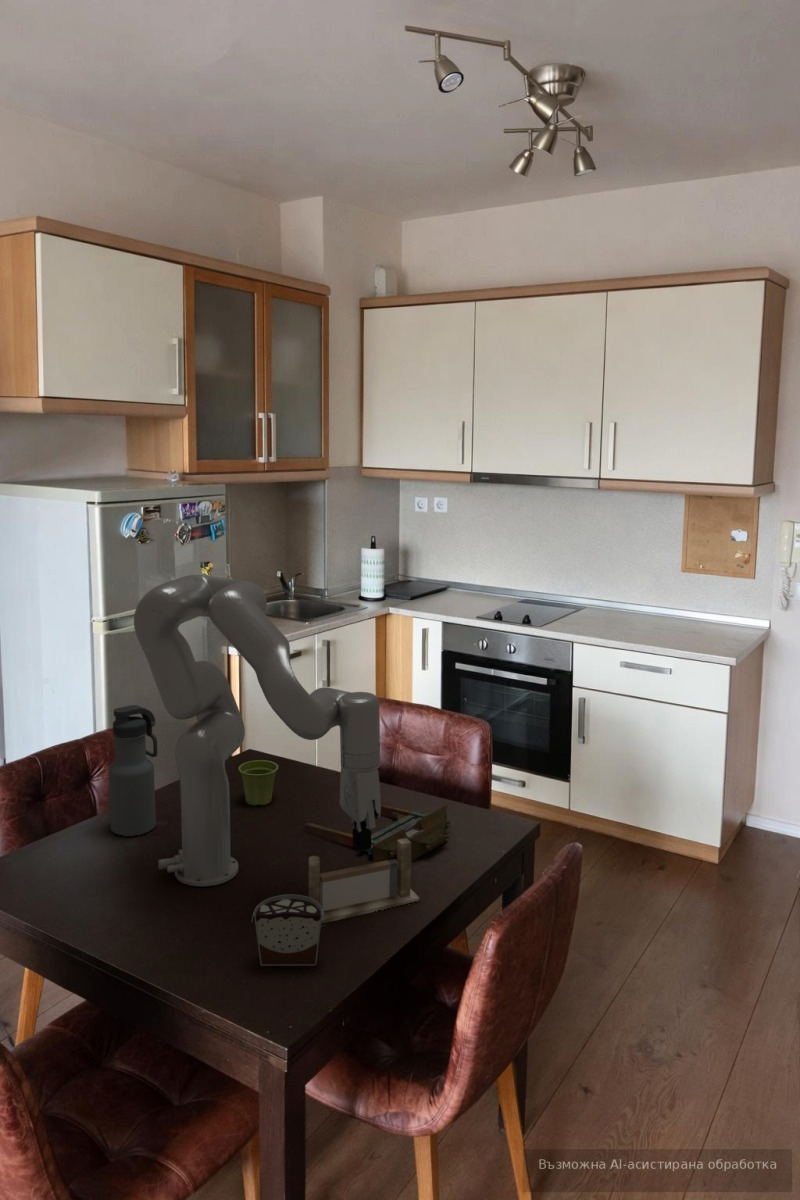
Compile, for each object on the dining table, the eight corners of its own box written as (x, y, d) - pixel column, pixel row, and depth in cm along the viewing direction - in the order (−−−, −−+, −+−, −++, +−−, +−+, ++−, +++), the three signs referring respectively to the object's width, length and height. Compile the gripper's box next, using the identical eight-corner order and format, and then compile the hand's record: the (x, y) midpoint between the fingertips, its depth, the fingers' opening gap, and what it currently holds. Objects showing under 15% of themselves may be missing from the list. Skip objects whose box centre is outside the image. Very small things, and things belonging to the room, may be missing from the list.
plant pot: (286, 799, 224) (286, 765, 223) (260, 812, 216) (260, 777, 215) (256, 790, 229) (256, 757, 227) (230, 803, 221) (230, 768, 220)
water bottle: (143, 815, 213) (139, 698, 208) (165, 828, 207) (162, 708, 202) (102, 828, 206) (97, 707, 201) (124, 842, 200) (119, 718, 194)
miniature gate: (369, 786, 224) (473, 810, 206) (370, 808, 225) (473, 834, 207) (292, 823, 203) (400, 852, 185) (293, 847, 204) (401, 879, 186)
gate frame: (297, 928, 166) (297, 868, 164) (289, 915, 171) (289, 856, 169) (419, 901, 177) (420, 844, 175) (408, 890, 181) (409, 833, 179)
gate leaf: (321, 911, 170) (321, 877, 169) (318, 907, 171) (318, 873, 170) (397, 895, 176) (398, 862, 175) (394, 891, 178) (394, 858, 177)
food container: (326, 945, 161) (327, 892, 160) (325, 965, 155) (325, 911, 153) (256, 945, 161) (255, 892, 159) (251, 965, 155) (251, 911, 153)
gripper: (327, 748, 180) (330, 837, 183) (357, 773, 166) (359, 868, 170) (363, 743, 183) (365, 830, 186) (394, 767, 170) (396, 860, 173)
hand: (362, 848), depth 178 cm, fingers closed
